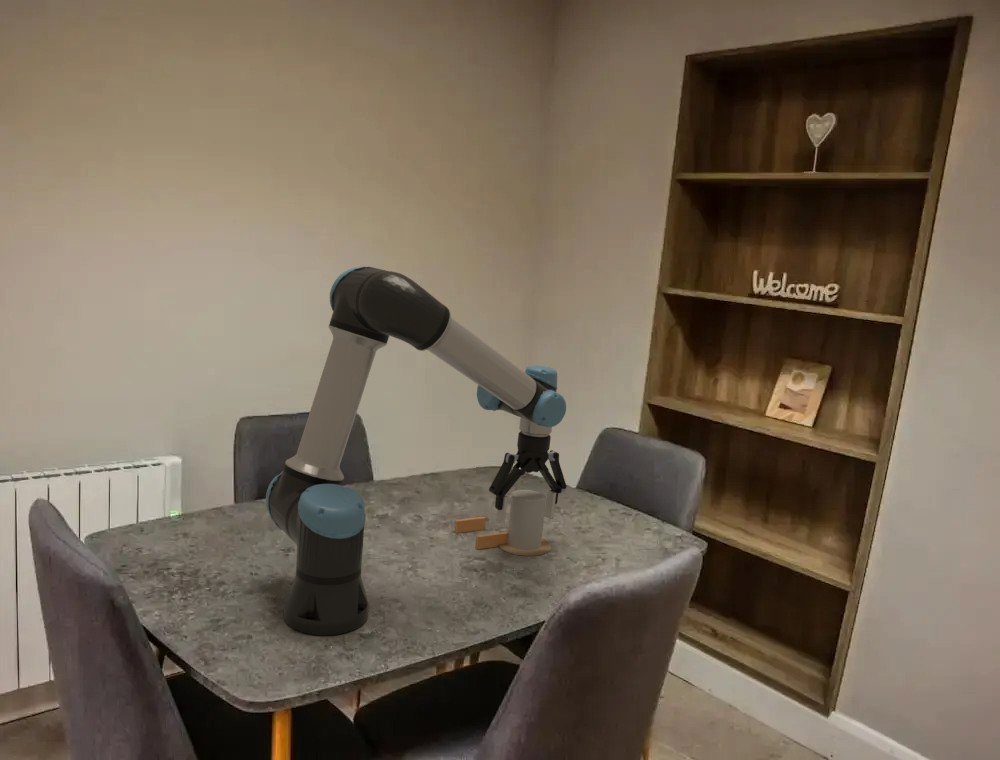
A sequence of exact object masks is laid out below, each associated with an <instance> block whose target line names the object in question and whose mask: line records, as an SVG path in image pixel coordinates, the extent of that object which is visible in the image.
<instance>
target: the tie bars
mask: <svg viewBox="0 0 1000 760" xmlns="http://www.w3.org/2000/svg"><path fill="white" fill-rule="evenodd" d="M486 521H487V518H486V517H485V516H478V517H469V518H460V519H455V521H454V533H456V534H461V533H468V532H475V531H477V532H478V531H482V530H483V531H484V530H486V523H487V522H486ZM507 537H508V531H501V532H493V533H487V534H486V533H485V534H480V535H476V536H475V546H474V548H475V550H483V549H489V548H497V547H498V545H501V544H507ZM498 548H499V547H498Z"/></svg>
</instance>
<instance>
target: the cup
mask: <svg viewBox="0 0 1000 760" xmlns="http://www.w3.org/2000/svg"><path fill="white" fill-rule="evenodd" d="M546 496H547V495H546V494H544V493H542V492H540V491H536V490H531V489H517V490H514V491H512V492H511V497H510V507H509V519H508V528H507V533H508V537H507V543H508V545H509V546H511V547H513V548H516V549H520V550H535V549H538V548H540V547H541V541H542V538H543V530H544V523H545V522H544V521H545V520H544V519H545V516H544V513H545V505H546Z"/></svg>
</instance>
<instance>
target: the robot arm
mask: <svg viewBox="0 0 1000 760" xmlns="http://www.w3.org/2000/svg"><path fill="white" fill-rule="evenodd" d="M329 304H330V306H331V310H332V314H331V318H330V320H329V325H328V328H329V331H330V332H331V334H332V337H333V338H332V341H331V345H330V348H329V351H328V354H327V356H326V360H325V363H324V367H323V368H322V372H321V375H320V380H319V383H318V386H317V389H316V392H315V394H314V398H313V401H312V405H311V407H310V410H309V414H308V416H307V421H306V423H305V426H304V429H303V433H302V436H301V438H300V441H299V445H298V449H297V452H296V453H295V455H294V456H292V457H290V458H287V459H286V460H285V463H284V465H283V469H282V471H280V473H279V474H277V475H275V476H274V478H272V480H271V482H270V483H269V484H268V488H267V490H266V494H265V507H266V511H267V512H268V514H269V516H270V518H271V520H272V522H274V524H275V526H276V527H277V528H279V530H280V531H283V533H284V534H286V536H288V537H289V538H290V540H292V541H293V542H294V543H295V544H296V563H295V565H296V568H295V577H294V579H293V582H292V585H291V586H290V590H289V593H288V595H287V597H286V599H285V603H284V610H283V612H284V613H283V619H284V621H285V623H286V624H287V625H288V626H289V627H291V629H294V630H295V631H297V632H300V633H303V634H308V635H314V636H331V635H332V636H334V635H335V636H336V635H340V634H345V633H349V632H352V631H354V630H356V629H358V628H360V627H361V626H363V625H364V624H365V623H366V622H367V619H368V618H369V606H370V605H369V599H368V596H367V593H366V589H365V586H364V582H363V579H362V566H363V565H362V564H363V549H364V537H365V536H364V534H365V524H366V514H367V513H366V509H365V507H366V505H365V501H364V499H363V497H362V496H361V494H360V493H359V492H358V491H356V490H354V489H352V488H350V487H348V486H343V482H344V479H345V476H344V474H343V472H342V470H341V467H340V466H341V462H342V459H343V456H344V454H345V449H346V446H347V443H348V440H349V438H350V434H351V431H352V428H353V425H354V423H355V419H356V416H357V413H358V409H359V407H360V403H361V400H362V397H363V394H364V390H365V387H366V384H367V382H368V377H369V375H370V371H371V369H372V366H373V364H374V363H373V362H374V359H375V356H376V353H377V351H378V350H380V349H382V348H384V347H385V346H387V344H388V341H389V338H390V337H393V338H395V339H397V340H401V342H402V341H403V342H404V343H407V344H408V345H410V346H411V347H413V348H415V349H416V350H418V351H419V352H423V351H424V352H425V351H429V352H430V353H431V354H433V355H435V356H436V357H437V358H438V359H440V360H442V361H443V362H444V363H445V364H448V365H449V366H450V367H452V368H453V369H455V370H456V371H458V372H459V373H460V374H462V375H463V376H465V377H466V378H468V379H469V380H471V381H472V382H473V383H474V384H476V385H477V389H476V399H477V402H478V404H479V406H480V408H482V409H483V410H486V411H493V412H496V411H503V412H506V413H508V414H511V415H514V416H516V417H519V419H520V420H519V430H520V431H519V432H518V436H517V437H518V438H517V444H516V445H517V446H516V447H517V452H516V453H515V454H513V453H509V452H506V453H505V454H504V458H503V462H502V463H501V466H500V468H499V469H498V471H497V473H496V475H495V477H494V479H493V481H492V482H491V485H490V486H489V487H488V491H489V492H490V493H492V494H493V495H494V496H495V501H494V502H495V503H494V508H495V509H496V518H495V520H496V522H498V523H499V524H500V525H505V524H506V516H507V509H508V499H509V498H508V496H506V495H507V494H508V493H509V491H510V490H511V489H512V488H513V486H514V485H515V484H516V483H517V481H518V480H519V479H520V478H521V477H522V476H523V475H525V473H527V474H530V473H533V472H534V473H539V472H540V474H541V476H542V477H543V479H544V481H545V482H546V483H547V486H548V487H549V489H547V490H546V495H545V496H546V503H545V512H544V517H546V518H548V519H549V520H554V515H555V507H556V506H555V505H557V504H558V500H559V494H561V493H562V492H563V490H565V489H567V483H566V480H565V476H564V474H563V470H562V467H561V464H560V453H559V452H556V451H555V450H553V449H551V450H550V448H551V447H550V445H551V439H552V438H551V437H552V436H551V435H550V434H551V433H552V430H553V427H556V426H557V425H559V424H560V423H561V422H562V421H563V419H564V417H565V416H566V412H567V403H566V400H565V398H564V396H563V395H561V394H560V393H559V392H557V389H558V372H557V370H556V369H554V368H552V367H549V366H545V365H544V366H543V365H528V366H526V368H525V371H523V370H522V369H520V368H519V367H518V366H516V365H515V364H514V363H513V362H511V361H510V360H509V359H508V358H506V357H504V356H503V355H502V354H501V353H499V352H498V351H497V350H496V349H494V348H493V347H491V346H490V345H489V344H487V343H486V342H485V341H483V340H482V339H481V338H479V337H478V336H477V335H475V334H474V333H472V332H471V331H470V330H469V329H468V328H466V327H465V326H463V325H462V324H461V323H459V322H458V321H456V319H455V318H453V317H452V313H451V310H450V309H449V307H447V306H446V305H444V304H443V303H442V302H441V301H440V300H438V298H436V297H434V296H433V295H432V294H430V293H429V291H427V290H426V289H425V288H423V287H422V286H420V285H419V284H418V283H417V282H415V281H414V280H413V279H411V278H410V277H408V276H406V275H405V274H402V273H401V272H397V271H390V270H386V269H381V268H377V267H373V266H356V267H352V268H349V269H346V271H343V272H342V273H341V274H340V275H339V276H337V278H336V279H335V280H334V282H333V284H332V286H331V289H330V292H329ZM549 450H550V451H549ZM548 461H549V465H550V468H551V471H552V474H551V472H550V470H549V468H548V467H547V465H546V463H547V462H548Z"/></svg>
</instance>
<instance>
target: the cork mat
mask: <svg viewBox="0 0 1000 760" xmlns="http://www.w3.org/2000/svg"><path fill="white" fill-rule="evenodd" d="M498 548H499V549H500V550H501V551H504V552H506V553H509V554H512V555H515V556H522V557H538V556H542V555H546V554H548V553H549V552H551V549H552V545H551V543H550V542H549V541H548V540H547V539H545V538H543V537H542V541H541V547H540V548H538V549H535V550H520V549H516V548H513V547H511V546H509V545H508V543H507V544H501V545H498Z"/></svg>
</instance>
